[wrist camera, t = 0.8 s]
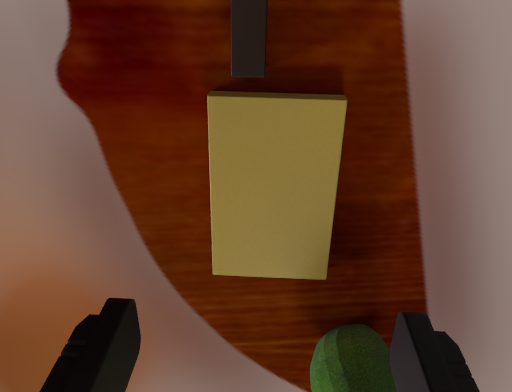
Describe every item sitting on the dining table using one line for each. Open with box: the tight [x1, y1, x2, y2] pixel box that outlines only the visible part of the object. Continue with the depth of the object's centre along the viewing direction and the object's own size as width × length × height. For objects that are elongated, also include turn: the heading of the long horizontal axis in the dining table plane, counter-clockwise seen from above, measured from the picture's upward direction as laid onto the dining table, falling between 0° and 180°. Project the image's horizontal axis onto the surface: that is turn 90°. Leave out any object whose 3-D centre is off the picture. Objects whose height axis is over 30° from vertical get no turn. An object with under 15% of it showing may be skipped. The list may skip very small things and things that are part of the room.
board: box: [207, 91, 347, 280], centre depth 35 cm, size 16×10×2 cm, turn 179°
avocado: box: [310, 324, 397, 392], centre depth 38 cm, size 8×8×12 cm
